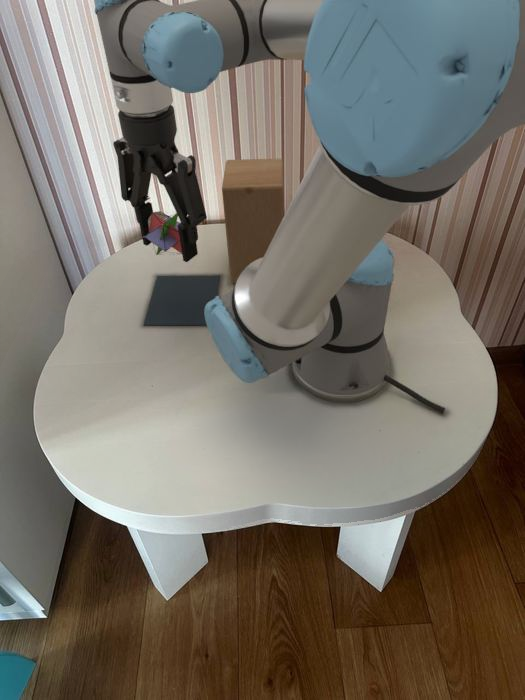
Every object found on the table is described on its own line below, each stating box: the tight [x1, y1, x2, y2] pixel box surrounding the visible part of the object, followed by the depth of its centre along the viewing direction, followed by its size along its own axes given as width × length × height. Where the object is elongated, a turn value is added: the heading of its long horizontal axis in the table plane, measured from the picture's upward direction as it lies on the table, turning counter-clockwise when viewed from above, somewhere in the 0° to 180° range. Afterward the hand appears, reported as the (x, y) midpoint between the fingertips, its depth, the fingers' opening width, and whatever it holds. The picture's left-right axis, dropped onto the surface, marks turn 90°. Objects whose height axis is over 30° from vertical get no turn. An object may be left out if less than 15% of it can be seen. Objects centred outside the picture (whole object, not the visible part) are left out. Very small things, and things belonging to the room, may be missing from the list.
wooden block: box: [221, 158, 285, 285], centre depth 101 cm, size 10×10×20 cm
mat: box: [143, 275, 221, 327], centre depth 102 cm, size 14×12×1 cm
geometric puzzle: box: [144, 210, 182, 256], centre depth 90 cm, size 7×7×8 cm
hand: (170, 248), depth 92 cm, fingers closed on geometric puzzle, 8 cm apart
